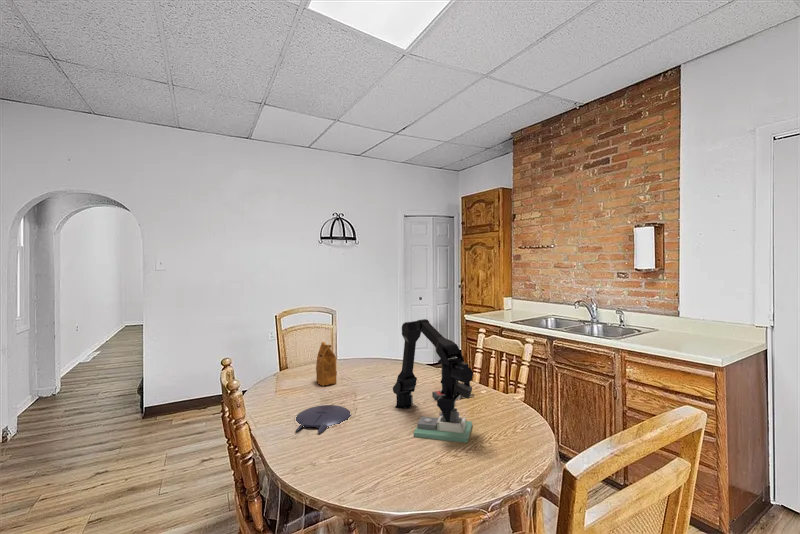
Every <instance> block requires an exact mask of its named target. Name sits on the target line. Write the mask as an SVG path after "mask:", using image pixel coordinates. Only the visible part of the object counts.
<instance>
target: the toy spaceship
mask: <svg viewBox="0 0 800 534" xmlns="http://www.w3.org/2000/svg"><path fill="white" fill-rule="evenodd" d="M350 412H351V411H350V410H349V409H348V408H346V407H345V406H341V405H335V404H322V405H317V406H312V407H309V408H306V409H304V410H302V411H301V412H299V413H297V414H296V416H297V417H296V416H295V417H296V421H297V422H298V423H299V424H301V425H300V426H299V427H298V426H297V428H296V430H295V432H298V431H299V430H300V429H301V428H303V427H302V426H304V427H306V428H309V427H312V428H313V427H314V428H317V432H318V433H320V434H321V433H323V432H325V431H326V429H325V428H327V427H329V426H332V425H335V424H340V423H341V422H343V421H345V420H348V418H349V417H350V416H351V417H352V414H351V415H350ZM348 421H349V420H348ZM318 428H319V429H318ZM327 429H328V428H327Z"/></svg>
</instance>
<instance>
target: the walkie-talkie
mask: <svg viewBox="0 0 800 534" xmlns="http://www.w3.org/2000/svg"><path fill="white" fill-rule="evenodd" d="M441 390H442V389H438V390H436V391H432V393H431V394H432V398H433V399H434V401H436V400H438V398H439V397H440V396H441V395H442V396H445V395H444V394H441ZM472 396H475V393H471V394H470V397H472ZM457 399H460V400H461V399H464V397H463V396H461V395H459V396H458V397H457V398H456V401H458V400H457Z"/></svg>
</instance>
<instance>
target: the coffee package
mask: <svg viewBox="0 0 800 534" xmlns="http://www.w3.org/2000/svg"><path fill="white" fill-rule="evenodd" d="M331 348H332V345H331V344H326V342H324V341H321V345H320V347H319V349H318V352H317V357H316V367H315V370H316V371H315V372H316V374H315V375H316V379H315V380H316V383H317V382H318V383H317V384H318V385H319V384H320V385H323V386H322V387H325V386H324V385H326V386H329V385H333V384H336V383H337V357H336V355H335V354H334V353H333V351H332V349H331ZM320 385H319V386H320Z"/></svg>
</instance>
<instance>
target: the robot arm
mask: <svg viewBox="0 0 800 534" xmlns="http://www.w3.org/2000/svg"><path fill="white" fill-rule="evenodd" d="M422 334H423V336H425V338H426V339H428V340H429V342H431V344H432V345H433V346H434V347H435V352H436V354H437V356H438V357H439V360H437V363H438V364H440V365H441V380H440V384H441V389H440V390H441V394H444V395H445V396H442V395H441V396H440V397H439V398H438V400H437V401H436V407H438V409H439V410H440V412H442V414H443V416H444V418H445V420H446V422H450V416H451V410H452V409H454V408H456V403H457V402H456V401H457V400H456V398H457V397H458V396H459V395H461V396H463V398H465V399H468V400H469V399H470V397H471V396H470V394H472V391H473V386H471V381H473V379H474V378H473V377H474V372H473V369H472V368H470V367H469V363H465V359H464V356H463V354H462V352H461V350H460V347H459V346H458V344H456V343H455V342H454V341H453V340H452V339H451V340H450V339H449V338H445V337H444V336H443V335H442V334H441V333H440V332H439V331H438V330H437V329H436V328H435V327H434V326H433V324H431V323H430V321H429V319H426V318H424V319H418V320H413V321H407V322H406V321H405V322H403V323H402V326H401V335H402V338H403V339H404V344H403V346H404V347H403V354H402V355H403V356H402V364H401V365H402V366H401V367H402V368H401V371H400V372H399V374H398V375H397V377H396V378H397V379H396V382H395V384H394V385H393V387H392V392H393V393H394V395H396V405H395V408H398V409H406V410H407V409H408V410H409V409H410V408H411V407H412V406H413V404H414V403H413V401H414V400H413V394H412V393H413V392H415V390H416V386H417V381H418V379H417V376H415V373H414V367H415V366H414V363H415V355H416V345H417V341H418V340H419V339H420V338H421V335H422Z"/></svg>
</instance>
